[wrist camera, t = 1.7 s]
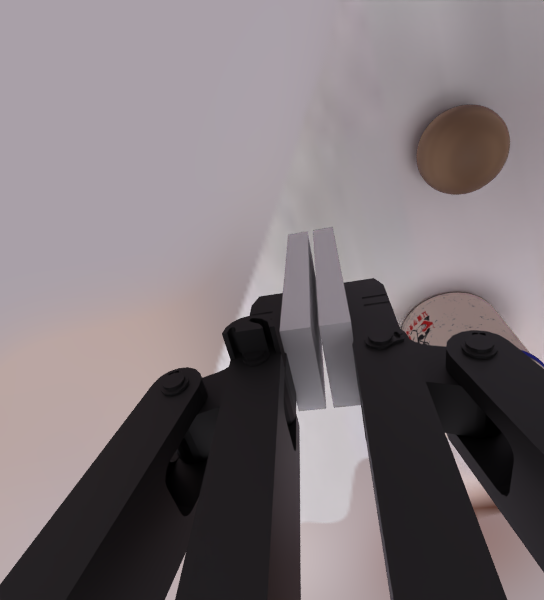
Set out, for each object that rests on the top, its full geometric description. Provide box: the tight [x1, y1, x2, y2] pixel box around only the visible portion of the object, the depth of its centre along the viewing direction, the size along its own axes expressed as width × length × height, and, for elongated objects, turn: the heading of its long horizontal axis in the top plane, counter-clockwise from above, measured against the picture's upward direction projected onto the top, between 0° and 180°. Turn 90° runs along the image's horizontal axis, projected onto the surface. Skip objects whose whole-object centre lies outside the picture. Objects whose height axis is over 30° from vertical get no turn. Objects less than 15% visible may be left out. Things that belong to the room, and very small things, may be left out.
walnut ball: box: [417, 105, 510, 194], centre depth 26 cm, size 6×6×6 cm
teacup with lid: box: [401, 293, 544, 438], centre depth 32 cm, size 12×9×12 cm
